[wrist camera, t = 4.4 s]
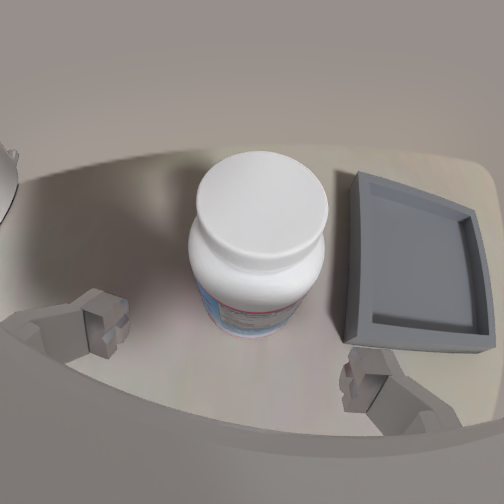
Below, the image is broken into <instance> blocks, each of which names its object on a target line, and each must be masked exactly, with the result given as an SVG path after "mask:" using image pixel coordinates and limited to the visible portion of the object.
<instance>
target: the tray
mask: <svg viewBox="0 0 504 504" xmlns="http://www.w3.org/2000/svg"><path fill="white" fill-rule="evenodd" d="M349 191H350V250H349V276H348V294H347V307H346V319H345V330H344V340H343V343H345V344H352V345H361V346H369V347H378V348H388V349H399V350H411V351H426V352H443V353H474V354H477V353H481V352H484V351H487V350H489V349H492V348H495V347H496V335H495V318H494V307H493V298H492V290H491V283H490V276H489V270H488V264H487V259H486V254H485V249H484V245H483V241H482V236H481V232H480V228H479V225H478V221H477V217H476V214H475V211H474V210H472V209H470V208H467V207H465V206H462V205H460V204H457V203H455V202H452V201H449V200H447V199H444V198H441V197H439V196H436V195H433V194H430V193H428V192H425V191H422V190H419V189H416V188H413V187H410V186H407V185H404V184H401V183H397V182H394V181H391V180H388V179H384V178H381V177H378V176H374V175H371V174H367V173H363V172H360V171H358V172H357V174H356V177H355V179H354V181H353V183H352V185H351V187H350V189H349Z"/></svg>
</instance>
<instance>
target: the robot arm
mask: <svg viewBox="0 0 504 504" xmlns="http://www.w3.org/2000/svg"><path fill="white" fill-rule="evenodd" d="M18 158H19V154H18V153H17V151H16V150H10V151H6V150H5V148H4V147H3V145H2V144H1V143H0V223H1V221H2V219H3V218H4V216H5V214H6V212H7V210H8V208H9V206H10V204H11V202H12V199H13V197H14V194H15V191H16V187H17V183H18V173H17V169H16V164H17V161H18ZM128 311H129V302H128V300H127V299H126V298H123V297H120V296H117V295H114V294H111V293H108V292H105V291H102V290H99V289H96V288H92V289H90V290H89V291H87V292H86V293H84V294H83V295H82V296H80V297H79V298H77V299H76V300H75V301H73V302H72V303H70V304H67V303H65V304H59V305H54V306H48V307H43V308H37V309H31V310H26V311H20V312H15V313H14V314H12V315H11V316H9V317H8V318H6V319H5V320H3V321H2V322H1V323H0V504H504V418H500V419H496V420H492V421H488V422H484V423H480V424H475V425H471V426H466V427H462V425H461V423H460V421H459V419H458V417H457V415H456V413H455V411H454V410H453V408H452V407H451V406H449V405H448V404H447V403H445V402H444V401H442V400H441V399H439V398H438V397H437V396H435V395H434V394H432V393H431V392H430V391H428V390H427V389H425V388H424V387H423V386H421V385H420V384H418V383H417V382H416V381H414V380H413V379H411V378H410V377H409V376H405V375H404V373H403V371H402V369H401V367H400V365H399V363H398V361H397V359H396V357H395V355H394V353H393V352H392V351H391V350H387V349H371V348H360V347H353V348H352V349H351V350H350V352H349V355H348V358H349V362H348V363H347V364H345V365H344V366H343V368H342V371H341V374H340V379H339V387H340V390H341V391H342V392H343V393H344V395H343V397H342V402H343V407H344V412H352V413H366V415H367V416H368V417H369V418H370V420H371V421H372V422H373V423H374V424H375V425H376V427H377V428H378V429H379V430H380V431H381V432H382V434H383V435H384V436H326V435H312V434H300V433H291V432H282V431H275V430H268V429H261V428H255V427H250V426H244V425H239V424H234V423H229V422H224V421H219V420H215V419H211V418H207V417H203V416H199V415H195V414H191V413H187V412H184V411H180V410H177V409H173V408H170V407H167V406H164V405H161V404H158V403H154V402H151V401H149V400H146V399H143V398H140V397H137V396H135V395H132V394H129V393H127V392H124V391H122V390H119V389H117V388H114V387H112V386H109V385H107V384H105V383H102V382H100V381H98V380H95V379H93V378H91V377H89V376H87V375H85V374H82V373H80V372H78V371H76V370H74V369H72V368H70V367H68V366H66V365H64V364H65V363H68V362H70V361H73V360H75V359H77V358H80V357H82V356H84V355H87V354H89V352H90V353H92V354H95V355H98V356H100V357H103V358H105V359H108V360H109V358H110V357H111V356H112V355H113V354H114V353H115V351H116V350H117V345H118V344H121V343H123V342H124V341H125V339H126V338H127V335H128V333H129V328H130V320H129V318H128V316H127V315H126V313H127V312H128Z"/></svg>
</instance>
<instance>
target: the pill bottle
mask: <svg viewBox="0 0 504 504" xmlns="http://www.w3.org/2000/svg"><path fill="white" fill-rule="evenodd" d="M196 210H197V216H196V217H195V219H194V221H193V224H192V226H191V229H190V233H189V238H188V254H189V259H190V263H191V267H192V270H193V273H194V276H195V279H196V282H197V285H198V287H199V290H200V293H201V296H202V299H203V301H204V304H205V307H206V309H207V312H208V314H209V316H210V318H211V319H212V321H213V322H214V323H215V325H216V326H217V327H218V328H220V329H221V330H222V331H223V332H225V333H227V334H229V335H231V336H234V337H237V338H242V339H258V338H263V337H266V336H269V335H271V334H273V333H275V332H276V331H278V330H279V329H280V328H281V327H283V325H284V324H285V323H286V322H287V321H288V320H289V318H290V317H291V315H292V314H293V313H294V311H295V310H296V308H297V307H298V306H299V304H300V303H301V301H302V300H303V298H304V297H305V296H306V294H307V293H308V291H309V290H310V288H311V287H312V286H313V284H314V282H315V281H316V279H317V277H318V275H319V273H320V271H321V268H322V265H323V260H324V253H325V244H324V237H323V233H322V232H323V230H324V227H325V225H326V221H327V217H328V201H327V197H326V193H325V191H324V188H323V186H322V185H321V183H320V181H319V180H318V179H317V177H316V176H315V175H314V174H313V173H312V172H311V171H310V170H309V169H308V168H307V167H305V166H304V165H303V164H301V163H300V162H298V161H296V160H294V159H292V158H290V157H287V156H285V155H282V154H278V153H274V152H268V151H249V152H243V153H238V154H235V155H232V156H229V157H227V158H225V159H223V160H221V161H219V162H218V163H217V164H215V165H214V166H213V167H212V168H211V169H210V170H209V171H208V172H207V173H206V174H205V176H204V177H203V179H202V180H201V182H200V185H199V187H198V190H197V195H196Z"/></svg>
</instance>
